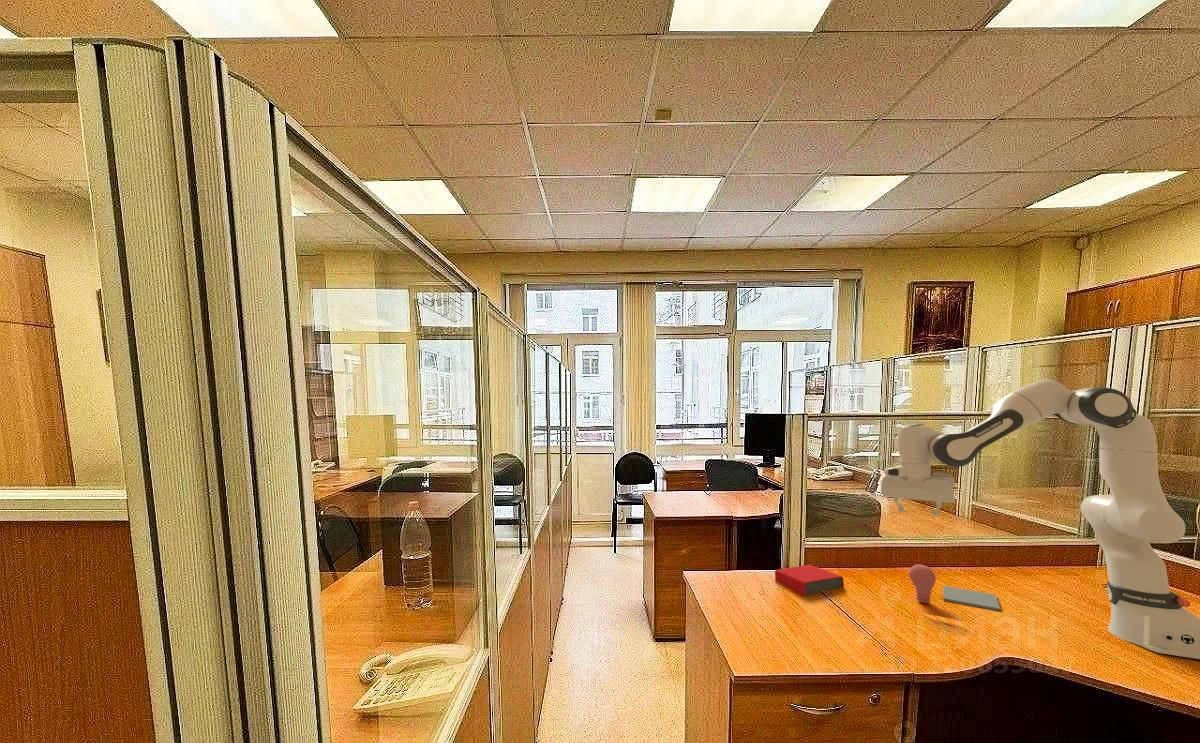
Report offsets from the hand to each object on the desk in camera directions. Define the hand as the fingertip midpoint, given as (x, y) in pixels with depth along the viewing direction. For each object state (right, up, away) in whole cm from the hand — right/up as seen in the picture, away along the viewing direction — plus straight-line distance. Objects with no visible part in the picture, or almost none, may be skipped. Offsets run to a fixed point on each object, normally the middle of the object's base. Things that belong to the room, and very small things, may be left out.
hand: (917, 513), depth 147 cm
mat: (+17, -29, -1) cm, 33 cm away
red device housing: (-31, -31, +12) cm, 46 cm away
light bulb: (0, -29, -4) cm, 29 cm away
